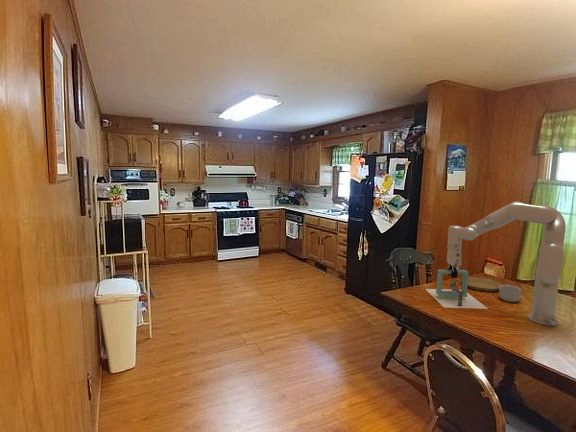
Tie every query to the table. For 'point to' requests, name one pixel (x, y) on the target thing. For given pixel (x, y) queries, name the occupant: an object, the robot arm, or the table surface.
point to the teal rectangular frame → (452, 293)
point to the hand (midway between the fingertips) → (452, 276)
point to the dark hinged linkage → (453, 286)
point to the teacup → (509, 293)
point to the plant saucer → (483, 284)
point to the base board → (456, 300)
